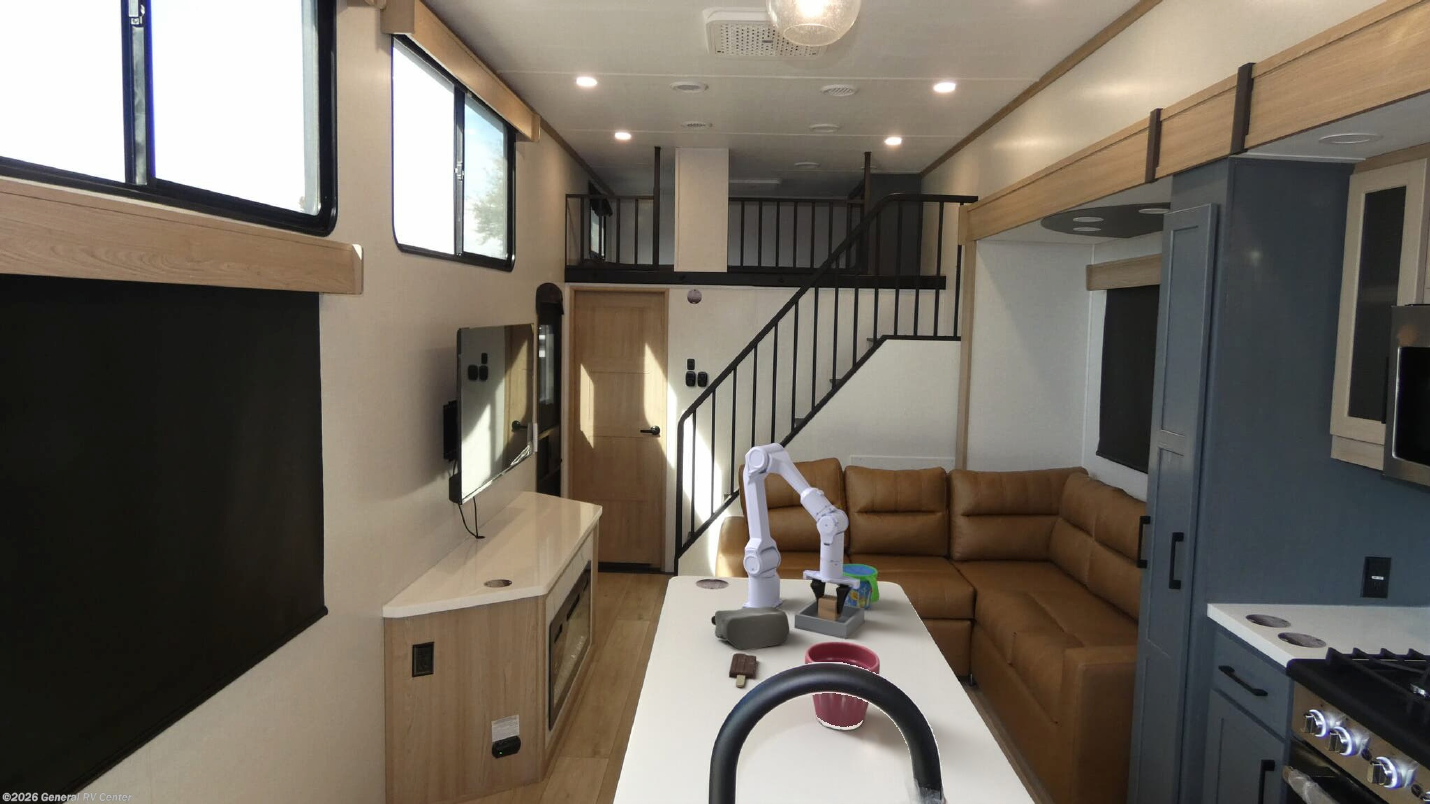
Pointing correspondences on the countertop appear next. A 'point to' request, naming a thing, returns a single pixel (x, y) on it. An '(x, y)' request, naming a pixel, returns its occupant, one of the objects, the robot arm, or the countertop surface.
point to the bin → (838, 628)
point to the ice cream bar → (742, 668)
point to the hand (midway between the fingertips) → (830, 610)
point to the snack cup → (862, 585)
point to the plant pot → (840, 706)
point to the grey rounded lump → (752, 627)
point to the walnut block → (828, 608)
